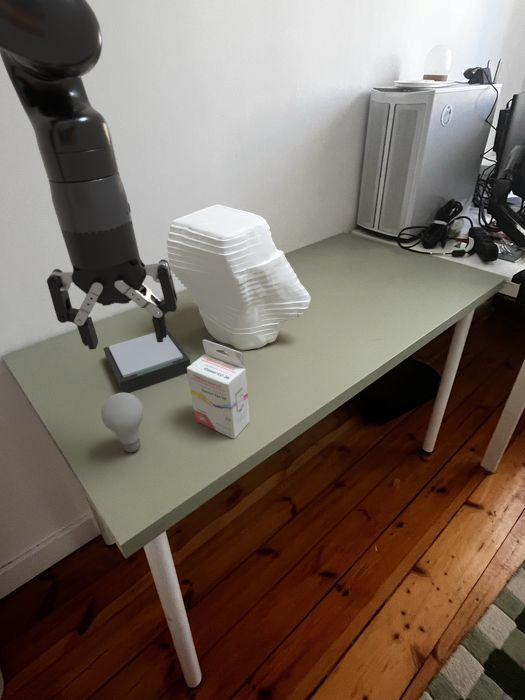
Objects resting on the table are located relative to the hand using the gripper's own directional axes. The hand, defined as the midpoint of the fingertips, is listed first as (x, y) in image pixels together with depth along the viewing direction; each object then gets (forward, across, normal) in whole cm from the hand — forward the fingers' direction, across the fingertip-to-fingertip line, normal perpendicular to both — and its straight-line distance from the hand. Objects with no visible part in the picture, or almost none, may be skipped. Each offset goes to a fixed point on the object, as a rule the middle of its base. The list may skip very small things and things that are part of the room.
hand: (127, 342), depth 56 cm
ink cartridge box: (+22, +11, +6) cm, 25 cm away
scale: (+22, -4, +26) cm, 34 cm away
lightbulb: (+22, -4, +2) cm, 22 cm away
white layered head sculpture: (+22, +16, +34) cm, 43 cm away
